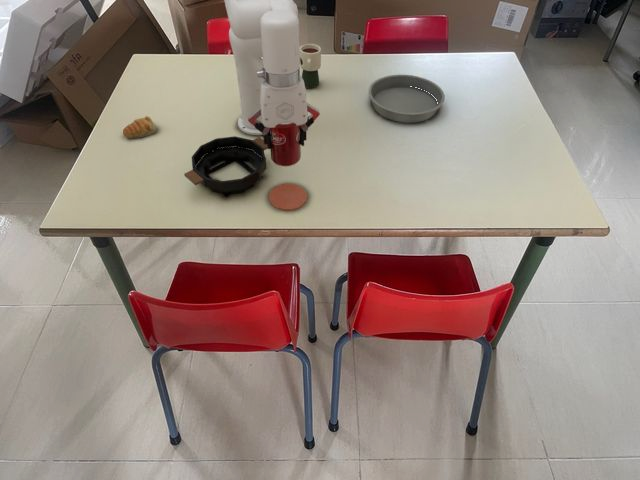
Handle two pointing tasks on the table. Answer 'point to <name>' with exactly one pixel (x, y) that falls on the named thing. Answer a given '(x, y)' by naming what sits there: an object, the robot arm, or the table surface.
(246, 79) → the robot arm
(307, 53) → the character mug
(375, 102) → the cake pan
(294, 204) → the coaster
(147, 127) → the pastry
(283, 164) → the soda can
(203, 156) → the wok
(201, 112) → the table surface
